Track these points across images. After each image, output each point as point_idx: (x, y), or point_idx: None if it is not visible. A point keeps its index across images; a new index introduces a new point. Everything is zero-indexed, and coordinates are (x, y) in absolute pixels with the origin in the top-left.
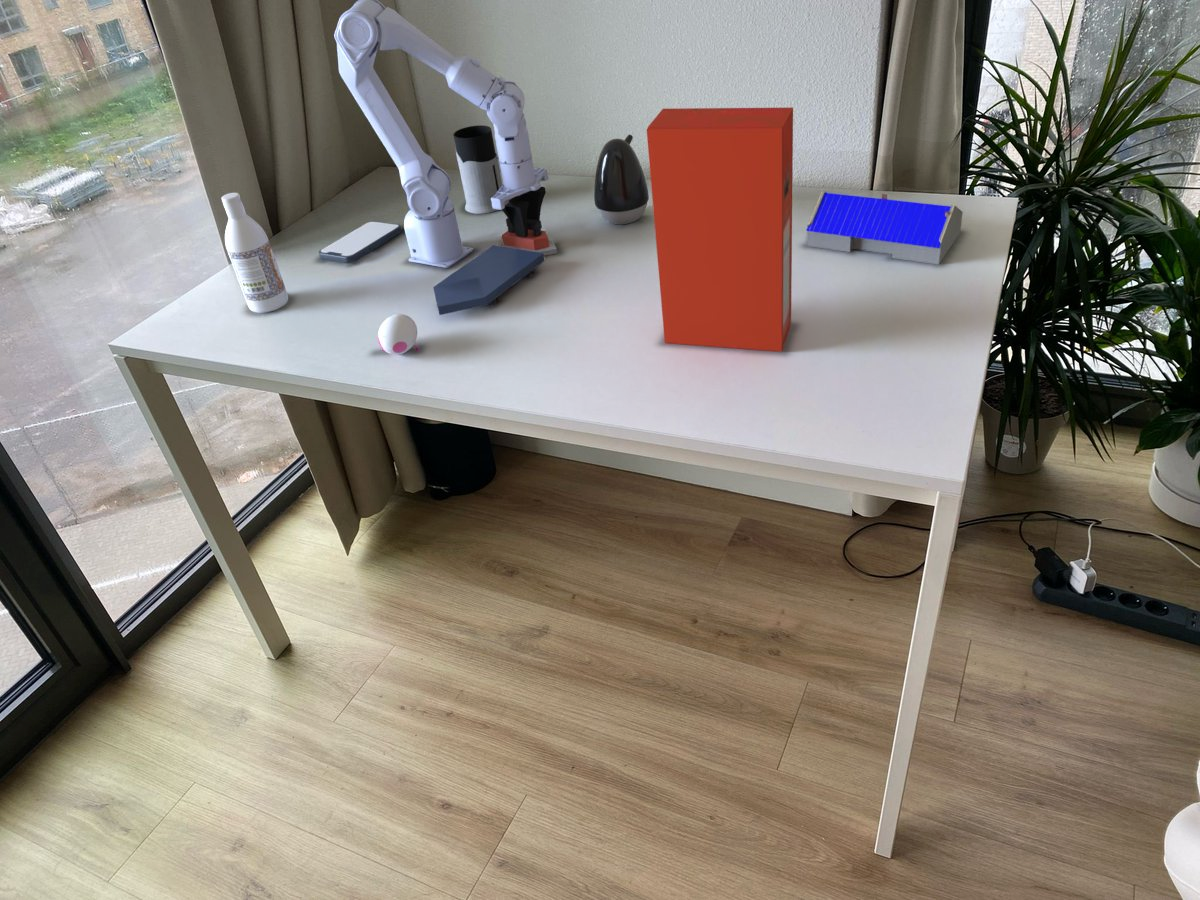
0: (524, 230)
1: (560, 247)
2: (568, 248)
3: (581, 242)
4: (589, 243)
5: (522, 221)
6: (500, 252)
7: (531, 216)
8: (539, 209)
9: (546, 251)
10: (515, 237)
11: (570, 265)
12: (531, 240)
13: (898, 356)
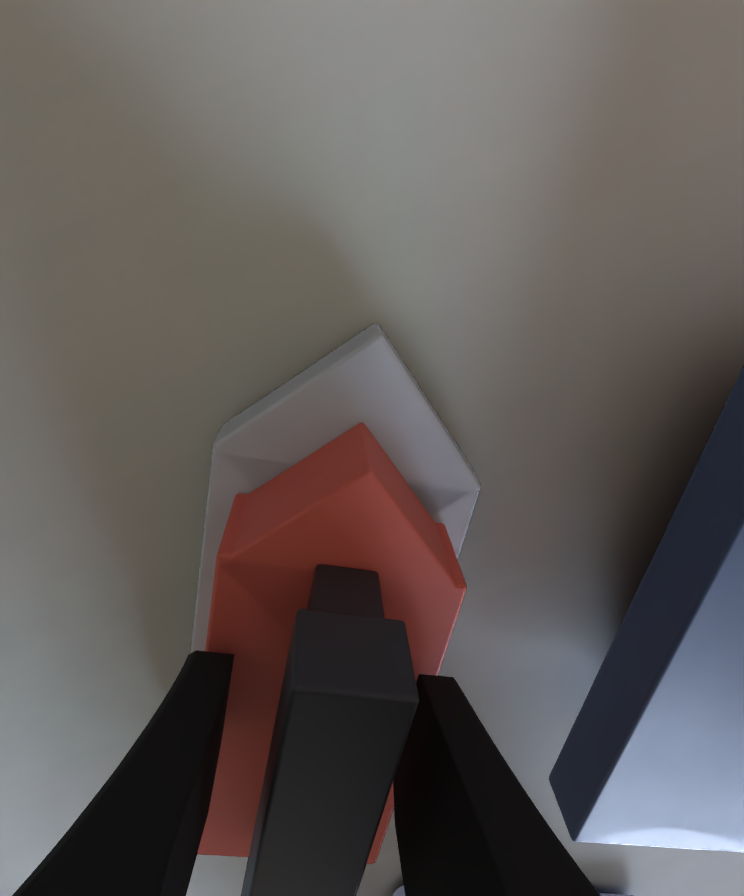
0: (493, 747)
1: (239, 343)
2: (245, 246)
3: (62, 143)
4: (57, 13)
5: (588, 886)
6: (732, 743)
7: (187, 840)
8: (104, 867)
9: (437, 417)
10: None
11: (654, 47)
12: (460, 604)
13: None
